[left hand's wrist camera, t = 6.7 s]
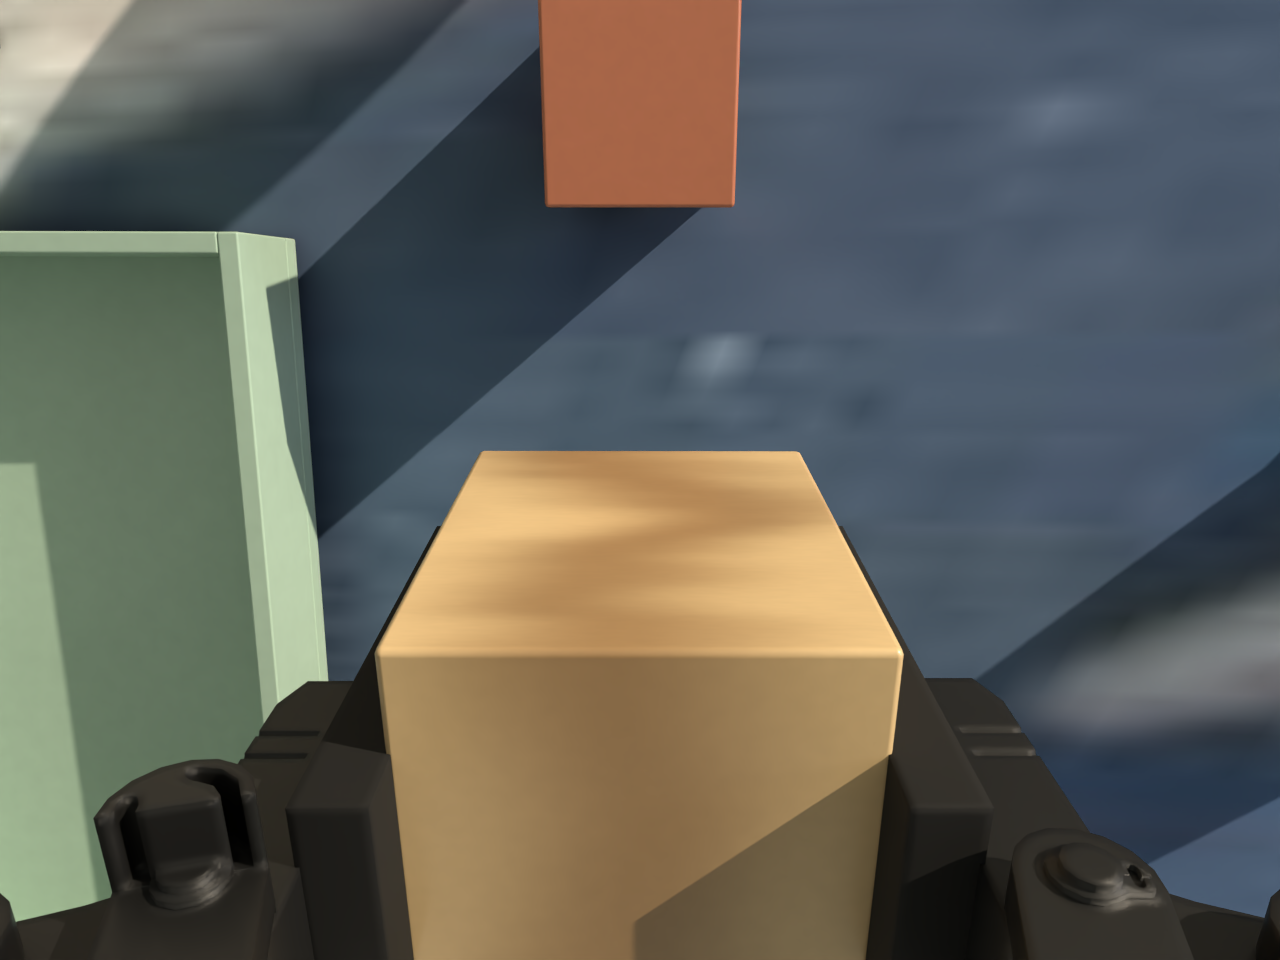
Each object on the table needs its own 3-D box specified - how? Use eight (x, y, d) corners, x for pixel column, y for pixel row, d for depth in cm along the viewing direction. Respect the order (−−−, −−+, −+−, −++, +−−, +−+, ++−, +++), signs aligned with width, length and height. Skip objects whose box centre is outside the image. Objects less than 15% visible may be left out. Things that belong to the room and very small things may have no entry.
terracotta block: (721, 26, 28) (741, -6, 22) (716, 196, 29) (734, 207, 24) (558, 26, 28) (537, -6, 22) (563, 196, 29) (545, 207, 24)
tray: (295, 238, 29) (139, 219, 20) (350, 971, 35) (249, 1208, 26) (-169, 237, 30) (-532, 217, 20) (-37, 968, 35) (-272, 1205, 26)
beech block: (800, 449, 14) (907, 651, 8) (782, 721, 16) (861, 1040, 10) (478, 449, 14) (370, 650, 8) (496, 720, 16) (416, 1039, 10)
